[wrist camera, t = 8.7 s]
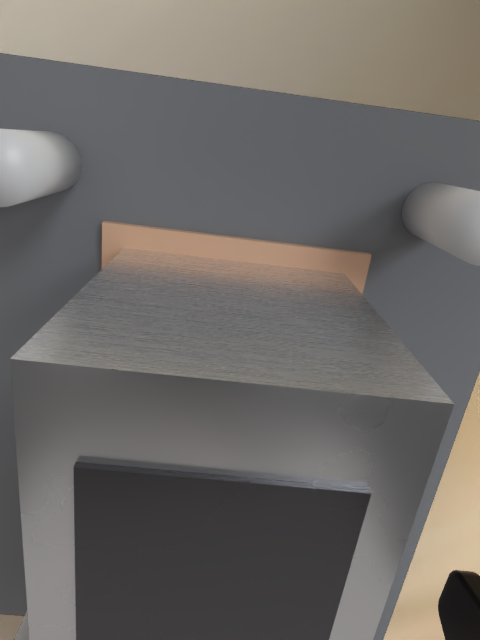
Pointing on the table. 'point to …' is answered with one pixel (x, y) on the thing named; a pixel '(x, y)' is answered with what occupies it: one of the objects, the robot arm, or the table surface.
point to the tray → (233, 219)
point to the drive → (217, 454)
